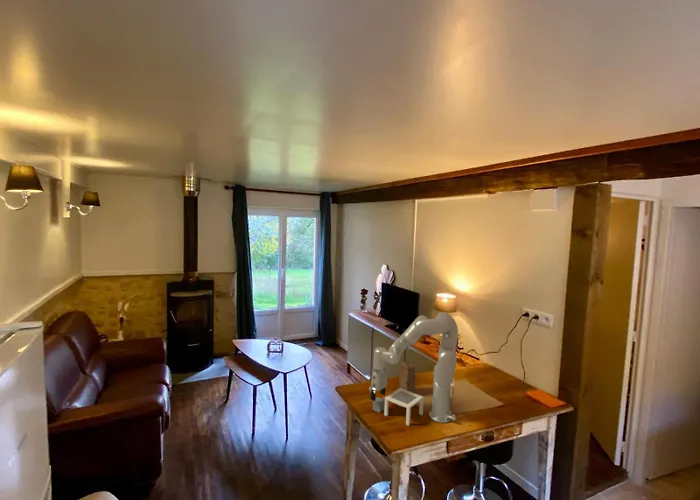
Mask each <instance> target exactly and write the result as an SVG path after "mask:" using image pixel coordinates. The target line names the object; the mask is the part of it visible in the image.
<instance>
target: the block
mask: <svg viewBox="0 0 700 500" xmlns="http://www.w3.org/2000/svg"><path fill="white" fill-rule="evenodd" d="M398 377H399V379H398V382H399V383H398V389H399V388H401V389H404V390H407V391H409V392H412V393H415V391H416V389H415V388H416V366H415V364H414V363H413V362H411V361H402V362H401V363H400V365H399V371H398Z"/></svg>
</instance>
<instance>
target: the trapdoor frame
mask: <svg viewBox="0 0 700 500" xmlns="http://www.w3.org/2000/svg"><path fill="white" fill-rule="evenodd" d="M400 392H404V393H407V394H409V395H412V396H415V397H417V398H416V399H414V400H413V401H412V402H410V403H409V404H406V403H404V402H401V401H398V400H396V399H393V398H392V397H394V396H395V395H397V394H398V393H400ZM384 400H385V406H384V410H383V413H384V415H383V416H385V417H387V416H389V403H393V404H395V405H397V406H398V407H403V408H406V410H405V411H406V414H405V417H406V418H405V425H406V426H410V425H411V410H412V409H411V408H412V407H414V406H415V405H417V404H418V403H419V409H418V410H419V411H418V415H420V416H422V415H423V414H424V400H425V399H424V395H423V396H422V395H420V394H418V393H415V392H414V393H412V392H409V391H407V390H404V389H401V388H399V387H398V388H397V389H396V390H395V391H392V392H391V393H389V394H388V395H385V397H384Z"/></svg>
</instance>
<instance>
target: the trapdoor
mask: <svg viewBox="0 0 700 500" xmlns="http://www.w3.org/2000/svg"><path fill="white" fill-rule="evenodd" d="M392 398H393V399H396V400H398V401H401V402H404V403H406V404H409V403H410V402H412V401H413V400H414V399H416V398H417V397H415V396H412V395H409V394H407V393H404V392H400V393H398V394H397V395H395V396H394V397H392Z"/></svg>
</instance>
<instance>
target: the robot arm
mask: <svg viewBox="0 0 700 500" xmlns="http://www.w3.org/2000/svg"><path fill="white" fill-rule="evenodd" d="M440 334H441V339H440V340H441V341H440V344H439V348H438V352H437V357H438V358H437V359H438V360H437V363H436V364H435V365H434V367H433V384H432V385H433V387H432V405H431V406H432V407H431V411H429V413H428V415H429V418H430V420H432V421H434V422H437V423H441V424H442V423H443V424H444V423H445V424H446V423H450V422H451V421H453V422H455V421H456V420H457V417H456V414H452V410H450V409H451V407H450V406H451V391H452V388H451V387H452V386H451V385H452V382H453V380H454V375H455V371H456V367H457V354H456V352H457V351H456V349H457V345H458V337H459V329H458V324H457V322H456V320H455V319H454V317H453V316H451V314H449V313H448V312H445V311H441V312H439V313H438V314H437V315H436V316H435V318H430V319H429V317H428V316H426V315H423V314H421V315H419V316H417V317H416V318H415V319H414V321H412V323H411V324H410V325H409V326H408V328H406V330H405V331H404V332H403V333H402V334H401V335H400V336H398V338H397V339H396V340H395V341H394V342H393V343H392V345H391V346H390V347H389V348H388V350H387V348H385V347H381V346H379V347H376V348H375V349H374V351H373V363H372V364H373V365H372V366H373V367H372V375H371V384H370V386H369V388H368V390H369V393H370V401H372V402H373V401H375V399H376V398H377V397H376V396H377V394H376V393H377V392H379V391H380V392H379V393H380V395H382V396H386V389H387V385H388V381H389V379H388V374H387V365H389V364H390V365H391V366H392V365H395V366H396V365H398V364H399V362H400V360H401V355H402V354H403V353H404V351H406V349H407V348H408V347H409V346H411V345H415V344H416V343H418V341H419V340H420V338H421V337H422V336H428V335H429V336H431V335H440Z"/></svg>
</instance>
